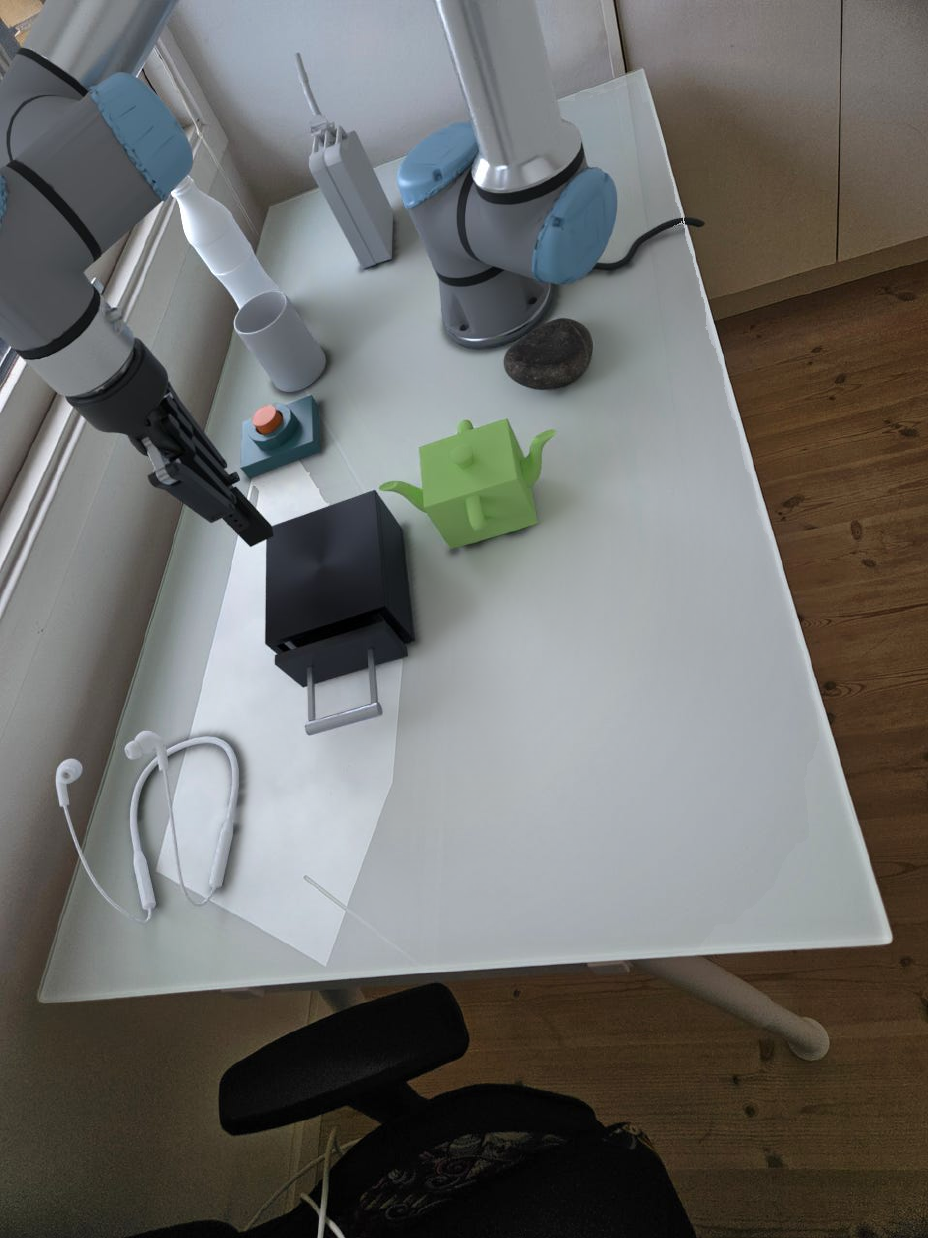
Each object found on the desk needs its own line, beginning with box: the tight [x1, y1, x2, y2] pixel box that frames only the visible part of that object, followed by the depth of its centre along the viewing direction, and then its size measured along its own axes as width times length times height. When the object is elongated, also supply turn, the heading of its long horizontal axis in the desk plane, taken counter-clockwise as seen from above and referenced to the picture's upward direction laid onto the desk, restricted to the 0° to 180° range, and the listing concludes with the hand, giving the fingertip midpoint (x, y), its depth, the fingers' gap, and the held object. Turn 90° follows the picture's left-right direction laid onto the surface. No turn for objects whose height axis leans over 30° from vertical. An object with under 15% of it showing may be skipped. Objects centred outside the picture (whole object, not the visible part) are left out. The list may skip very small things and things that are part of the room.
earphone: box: [55, 730, 240, 925], centre depth 84 cm, size 14×17×18 cm
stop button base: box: [239, 394, 322, 479], centre depth 111 cm, size 11×9×4 cm
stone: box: [503, 317, 594, 391], centre depth 99 cm, size 11×11×5 cm
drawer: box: [274, 613, 409, 736], centre depth 87 cm, size 22×13×6 cm, turn 7°
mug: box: [233, 290, 327, 393], centre depth 115 cm, size 12×8×11 cm
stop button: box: [251, 404, 282, 434], centre depth 109 cm, size 4×4×2 cm
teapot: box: [378, 418, 558, 550], centre depth 89 cm, size 15×13×11 cm
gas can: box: [292, 52, 394, 269], centre depth 119 cm, size 15×5×25 cm, turn 1°
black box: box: [264, 489, 416, 655], centre depth 91 cm, size 16×14×8 cm
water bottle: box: [170, 174, 283, 311], centre depth 118 cm, size 7×7×25 cm
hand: (260, 536), depth 83 cm, fingers closed
